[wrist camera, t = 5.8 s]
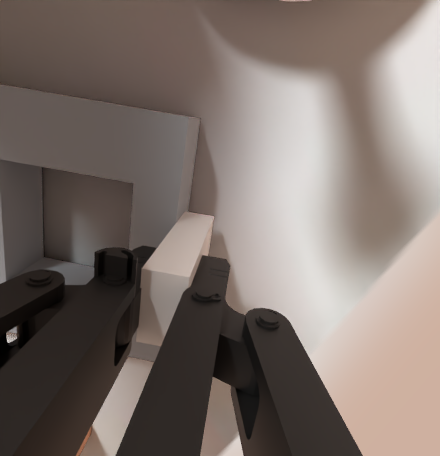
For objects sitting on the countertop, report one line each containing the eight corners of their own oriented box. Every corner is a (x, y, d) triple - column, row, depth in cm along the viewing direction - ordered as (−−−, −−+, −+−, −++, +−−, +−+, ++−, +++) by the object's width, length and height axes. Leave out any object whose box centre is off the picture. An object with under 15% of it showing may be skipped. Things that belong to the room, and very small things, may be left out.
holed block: (-65, 280, 20) (-117, 306, 17) (-95, 67, 16) (-170, 56, 13) (172, 327, 19) (158, 362, 16) (200, 118, 15) (188, 117, 13)
